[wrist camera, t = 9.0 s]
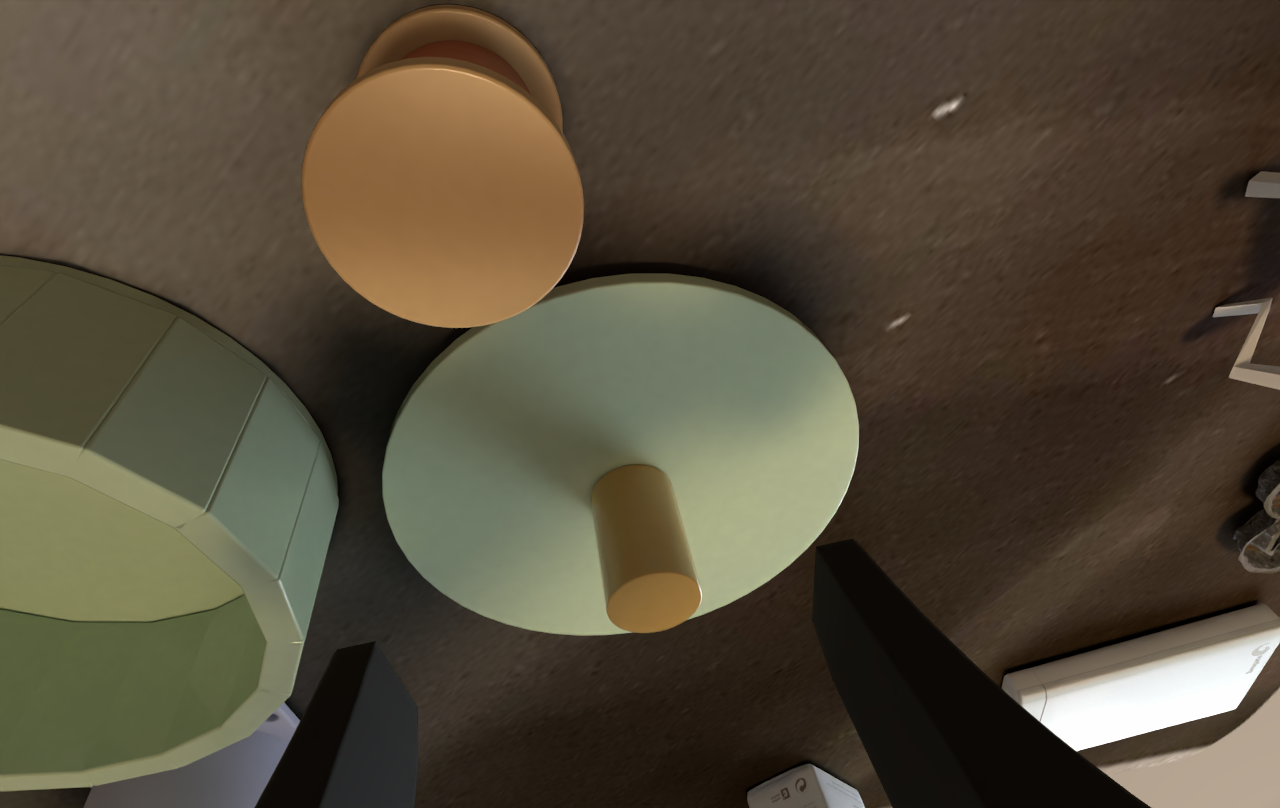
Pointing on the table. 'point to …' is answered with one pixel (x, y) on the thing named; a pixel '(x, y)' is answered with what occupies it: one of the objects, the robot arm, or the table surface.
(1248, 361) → the beige angled stand
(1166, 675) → the hard drive
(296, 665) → the tin
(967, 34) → the table surface
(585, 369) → the lid
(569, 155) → the spool
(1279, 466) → the corroded twin loop
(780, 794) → the cosmetic box
